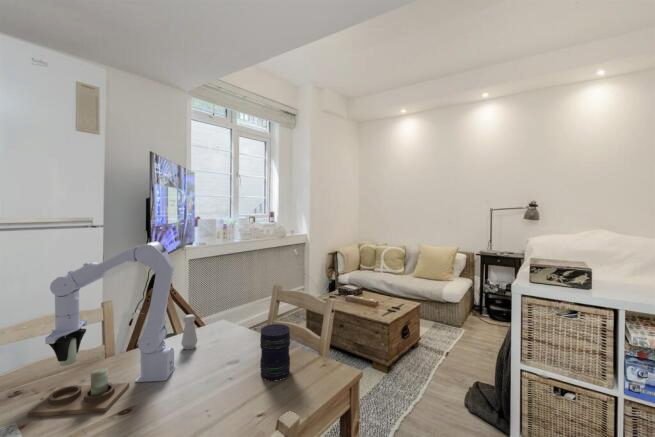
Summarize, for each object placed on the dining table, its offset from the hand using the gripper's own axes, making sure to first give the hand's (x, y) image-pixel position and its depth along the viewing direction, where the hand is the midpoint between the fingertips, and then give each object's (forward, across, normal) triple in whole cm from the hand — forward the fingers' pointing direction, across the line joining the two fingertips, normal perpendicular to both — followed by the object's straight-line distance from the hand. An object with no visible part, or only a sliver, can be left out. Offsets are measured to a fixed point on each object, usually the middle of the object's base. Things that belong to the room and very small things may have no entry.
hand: (68, 357), depth 94 cm
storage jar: (+9, -1, +64) cm, 64 cm away
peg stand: (+9, +9, +10) cm, 16 cm away
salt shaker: (+9, -23, +28) cm, 38 cm away
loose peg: (+2, 0, 0) cm, 2 cm away
